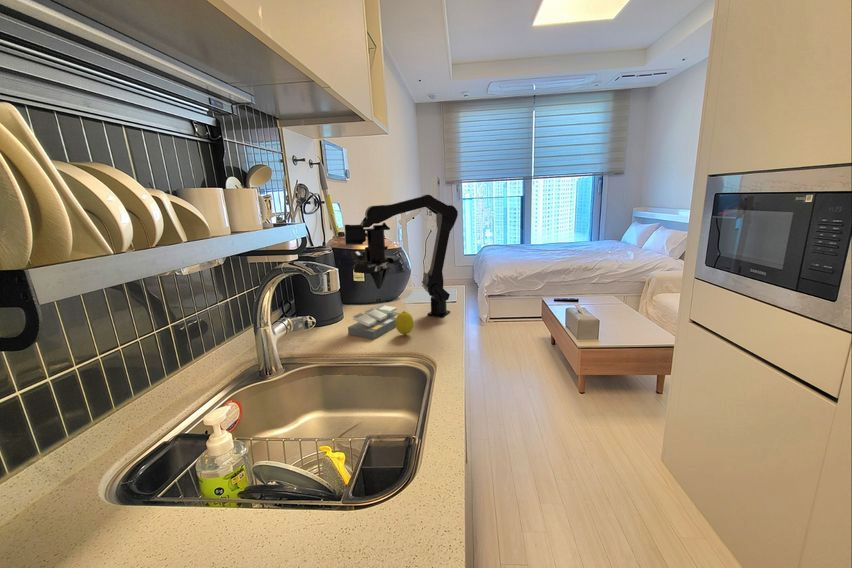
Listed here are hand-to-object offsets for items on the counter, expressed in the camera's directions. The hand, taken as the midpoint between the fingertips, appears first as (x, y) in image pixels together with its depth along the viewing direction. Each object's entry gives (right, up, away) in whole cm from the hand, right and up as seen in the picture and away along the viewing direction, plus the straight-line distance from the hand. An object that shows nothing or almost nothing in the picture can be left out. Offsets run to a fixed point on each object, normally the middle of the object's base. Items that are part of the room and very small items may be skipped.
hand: (378, 288), depth 126 cm
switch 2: (+2, -8, +1) cm, 8 cm away
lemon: (+10, -15, -12) cm, 21 cm away
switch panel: (0, -13, -4) cm, 14 cm away
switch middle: (-1, -9, -4) cm, 10 cm away
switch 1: (-3, -10, -9) cm, 14 cm away
